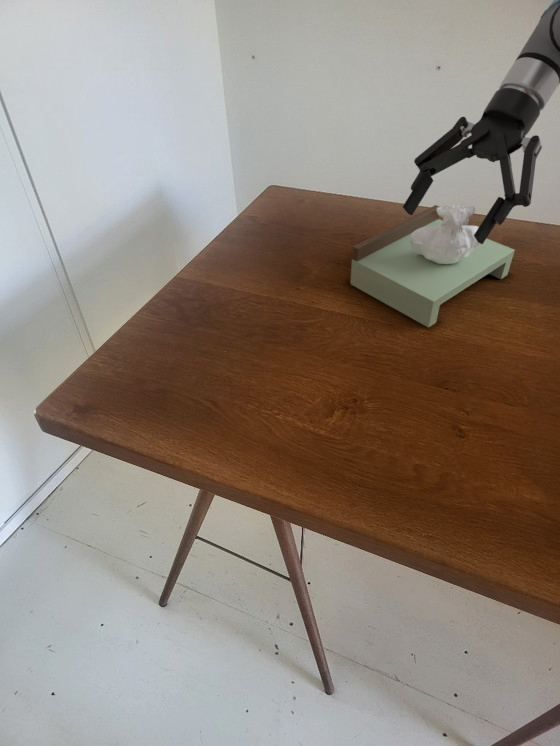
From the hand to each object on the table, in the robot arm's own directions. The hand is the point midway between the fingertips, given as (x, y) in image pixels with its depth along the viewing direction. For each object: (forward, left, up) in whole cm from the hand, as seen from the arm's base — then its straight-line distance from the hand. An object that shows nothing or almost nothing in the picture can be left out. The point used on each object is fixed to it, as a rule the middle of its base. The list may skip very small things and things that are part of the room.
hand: (440, 225), depth 83 cm
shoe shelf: (+1, 0, -11) cm, 11 cm away
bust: (0, -1, -6) cm, 6 cm away
